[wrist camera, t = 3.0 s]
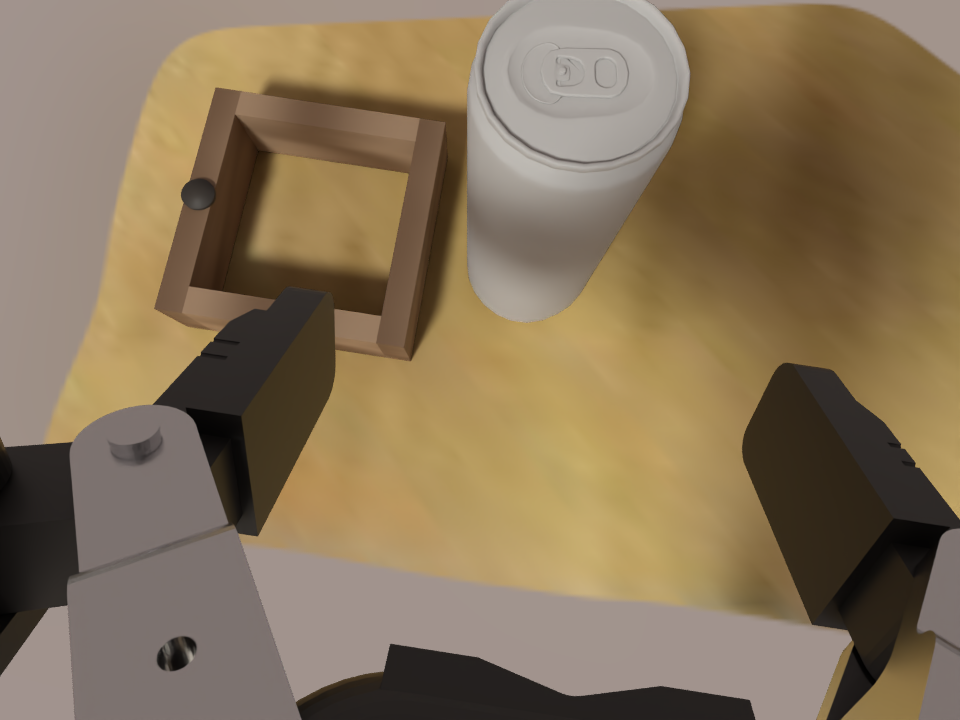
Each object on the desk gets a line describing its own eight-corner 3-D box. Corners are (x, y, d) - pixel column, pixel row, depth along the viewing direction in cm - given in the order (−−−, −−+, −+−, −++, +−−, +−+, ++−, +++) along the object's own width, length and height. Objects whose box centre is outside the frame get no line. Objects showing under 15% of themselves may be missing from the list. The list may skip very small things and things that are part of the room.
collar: (447, 157, 25) (445, 119, 22) (410, 361, 23) (403, 346, 20) (238, 125, 25) (211, 84, 22) (185, 326, 23) (149, 306, 20)
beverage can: (468, 214, 24) (469, -33, 13) (583, 217, 24) (691, -25, 13) (465, 325, 23) (464, 171, 12) (585, 328, 23) (704, 178, 12)
